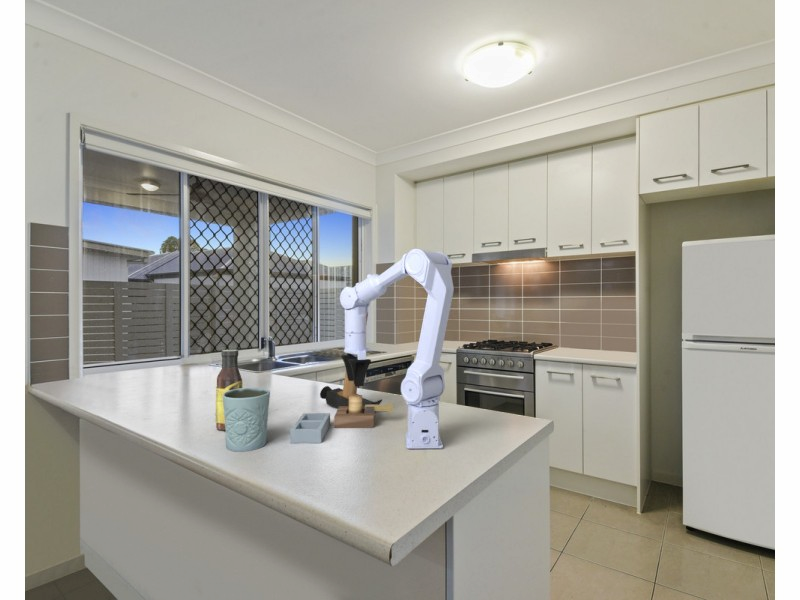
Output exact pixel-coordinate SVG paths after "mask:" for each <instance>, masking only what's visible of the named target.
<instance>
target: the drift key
mask: <svg viewBox="0 0 800 600" xmlns="http://www.w3.org/2000/svg"><path fill="white" fill-rule="evenodd" d="M365 408H374V411H375V412H387V413H388V414H392V413H393V402H387V404H379V405H365Z"/></svg>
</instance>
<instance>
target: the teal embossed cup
mask: <svg viewBox="0 0 800 600" xmlns="http://www.w3.org/2000/svg"><path fill="white" fill-rule="evenodd" d="M270 396H271V390H270V389H268V388H264V387H242V388H240V389H234V390H230V391H227V392H225V393H224V394H223V408H224V416H225V430H224V431H225V436H224V437H225V439H224V441H225V449H227V450H228V451H230V452H234V453H236V452H237V453H238V452H239V453H240V452H241V453H242V452H244V453H245V452H251V451H255V450H258V449H261V448H263V447H265V445H266V444H267V438H268V437H267V436H268V435H267V433H268V432H267V430H268V420H269V417H268V416H269V406H270Z"/></svg>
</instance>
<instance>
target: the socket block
mask: <svg viewBox="0 0 800 600" xmlns="http://www.w3.org/2000/svg"><path fill="white" fill-rule="evenodd" d="M366 405H375V404H366ZM375 420H376V411H374V408H365V406H362V413H349V406H339V408H337V410H336V412H335V414H334V416H333V422H334V423H333V428H334V429H374V426H375Z"/></svg>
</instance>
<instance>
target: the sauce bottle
mask: <svg viewBox="0 0 800 600" xmlns="http://www.w3.org/2000/svg"><path fill="white" fill-rule="evenodd" d="M220 354H221V369H220V371H219V372H218V375H217V376H216V386H215V387H216V389H215V390H216V391H215V423H216V424H215V428H216V430H218V431H226V430H225V416H224V408H223V394H224V393H225V392H227V391H230V390H234V389H240V388H243V378H242V375H241V373H240V369H239V365H238V360H239V359H238V356H239V349H223V350H221V353H220Z"/></svg>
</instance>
